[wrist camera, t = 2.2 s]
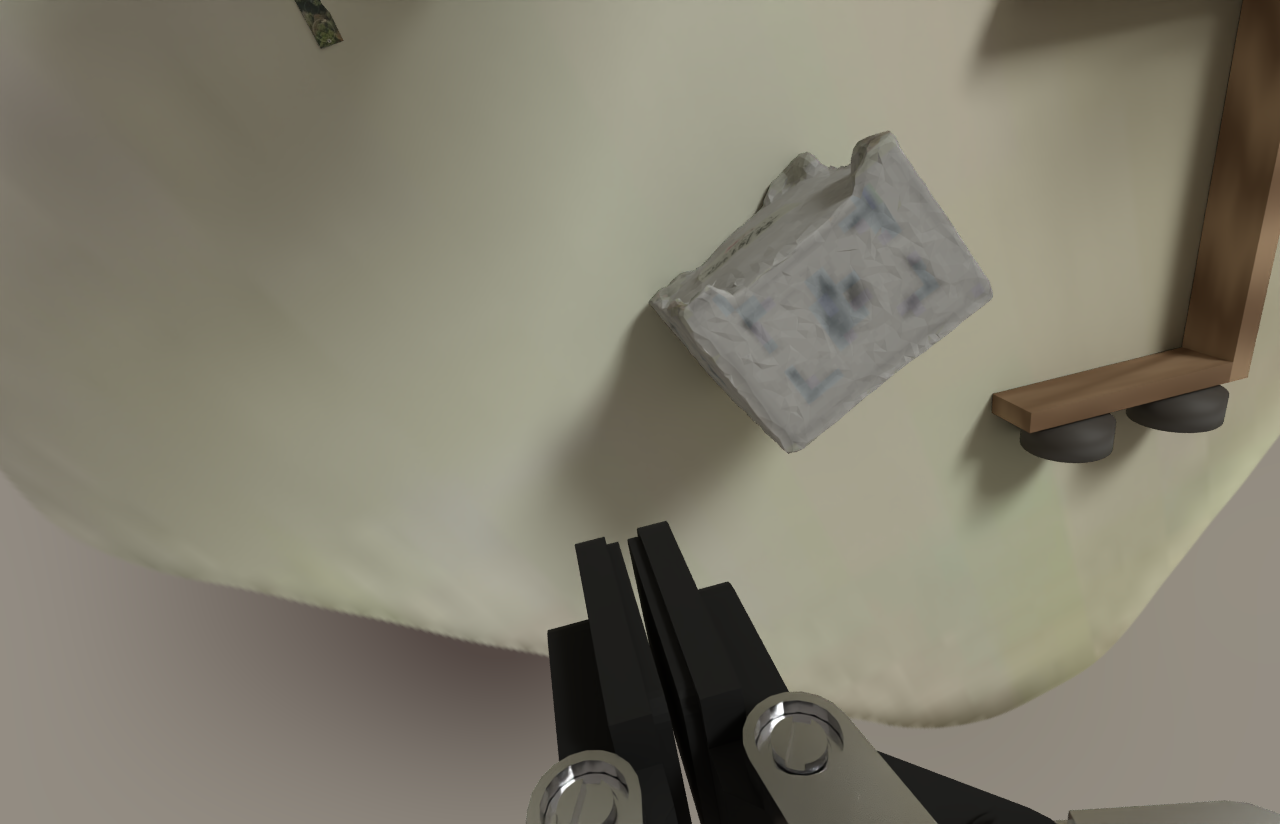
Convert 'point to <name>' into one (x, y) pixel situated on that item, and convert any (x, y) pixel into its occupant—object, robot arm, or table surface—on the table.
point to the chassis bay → (1221, 294)
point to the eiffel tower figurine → (319, 22)
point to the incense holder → (826, 291)
